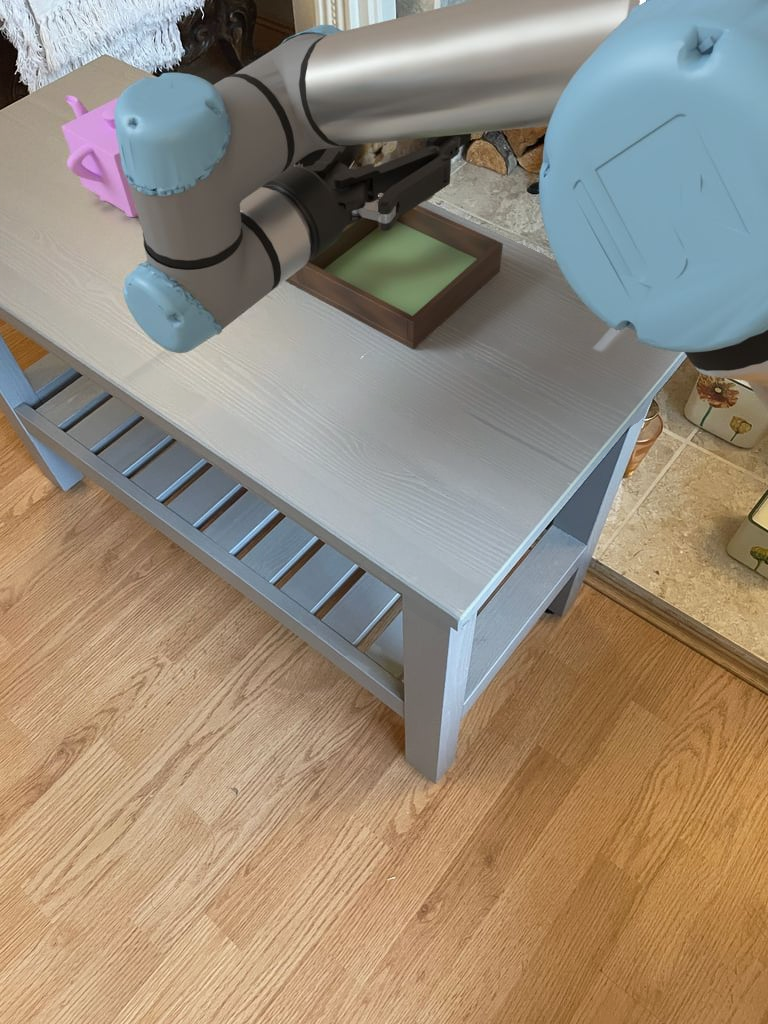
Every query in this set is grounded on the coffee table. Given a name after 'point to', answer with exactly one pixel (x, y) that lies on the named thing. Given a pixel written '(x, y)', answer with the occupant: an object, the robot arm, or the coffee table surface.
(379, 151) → the rock
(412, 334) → the divided wooden tray
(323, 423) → the coffee table surface
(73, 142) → the teapot
